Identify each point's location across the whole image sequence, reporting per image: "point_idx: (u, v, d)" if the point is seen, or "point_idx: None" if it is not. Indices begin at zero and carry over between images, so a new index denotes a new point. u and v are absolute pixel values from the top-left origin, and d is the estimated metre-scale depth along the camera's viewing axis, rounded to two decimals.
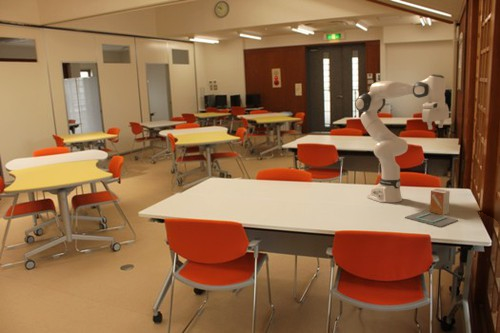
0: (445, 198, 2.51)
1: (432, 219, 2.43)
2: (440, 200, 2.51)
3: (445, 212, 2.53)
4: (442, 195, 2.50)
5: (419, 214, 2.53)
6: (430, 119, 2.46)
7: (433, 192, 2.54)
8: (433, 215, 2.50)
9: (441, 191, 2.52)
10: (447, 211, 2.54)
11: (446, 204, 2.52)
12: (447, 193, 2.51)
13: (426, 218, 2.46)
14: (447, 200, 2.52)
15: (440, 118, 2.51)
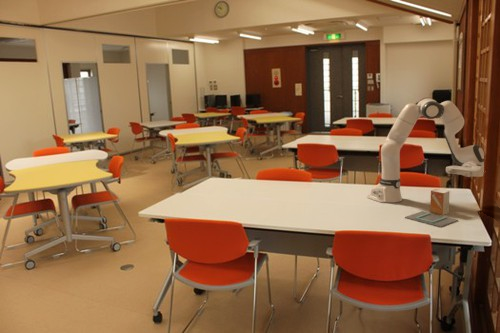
0: (445, 198, 2.51)
1: (432, 219, 2.43)
2: (440, 200, 2.51)
3: (445, 212, 2.53)
4: (442, 195, 2.50)
5: (419, 214, 2.53)
6: None
7: (433, 192, 2.54)
8: (433, 215, 2.50)
9: (441, 191, 2.52)
10: (447, 211, 2.54)
11: (446, 204, 2.52)
12: (447, 193, 2.51)
13: (426, 218, 2.46)
14: (447, 200, 2.52)
15: None
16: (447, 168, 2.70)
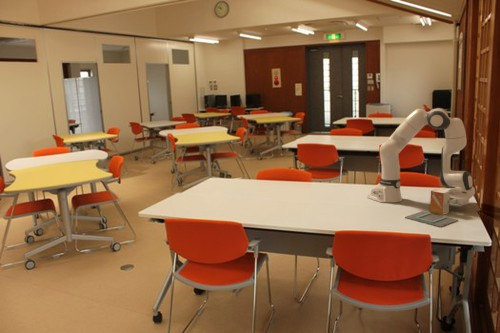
0: (445, 198, 2.51)
1: (432, 219, 2.43)
2: (440, 200, 2.51)
3: (445, 212, 2.53)
4: (442, 195, 2.50)
5: (419, 214, 2.53)
6: None
7: (433, 192, 2.54)
8: (433, 215, 2.50)
9: (441, 191, 2.52)
10: (447, 211, 2.54)
11: (446, 204, 2.52)
12: (447, 193, 2.51)
13: (426, 218, 2.46)
14: (447, 200, 2.52)
15: None
16: None
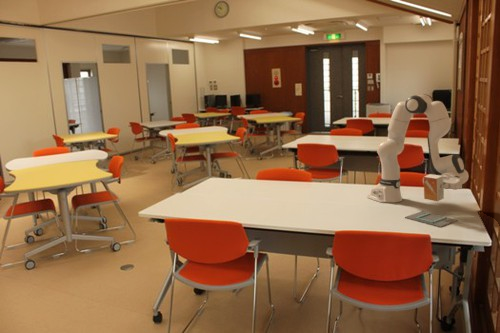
0: (438, 183, 2.39)
1: (432, 219, 2.43)
2: (433, 186, 2.40)
3: (440, 198, 2.42)
4: (435, 181, 2.39)
5: (419, 214, 2.53)
6: None
7: (426, 178, 2.43)
8: (433, 215, 2.50)
9: (434, 176, 2.41)
10: (442, 197, 2.43)
11: (440, 190, 2.41)
12: (440, 178, 2.40)
13: (426, 218, 2.46)
14: None
15: None
16: None
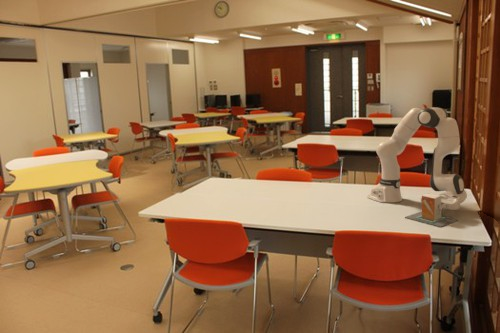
0: (436, 203, 2.39)
1: None
2: (431, 205, 2.40)
3: (437, 218, 2.42)
4: (433, 200, 2.38)
5: (419, 214, 2.53)
6: None
7: (424, 197, 2.43)
8: None
9: (432, 196, 2.41)
10: (439, 217, 2.43)
11: (438, 210, 2.41)
12: (438, 198, 2.40)
13: None
14: None
15: None
16: None
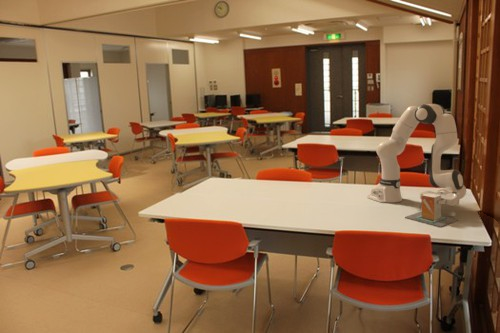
0: (436, 202, 2.40)
1: None
2: (431, 205, 2.41)
3: (437, 218, 2.42)
4: (433, 199, 2.39)
5: (419, 214, 2.53)
6: None
7: (424, 197, 2.43)
8: None
9: (432, 195, 2.42)
10: (439, 216, 2.43)
11: (438, 209, 2.41)
12: (438, 197, 2.40)
13: None
14: (438, 205, 2.41)
15: None
16: (421, 194, 2.52)
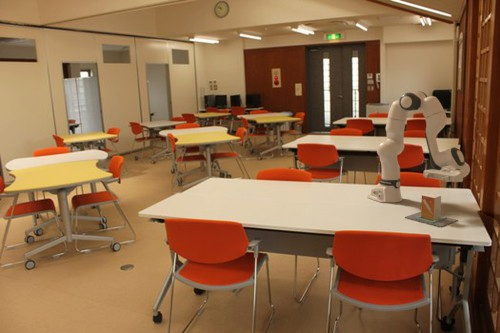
0: (436, 203, 2.40)
1: None
2: (430, 205, 2.41)
3: (436, 218, 2.42)
4: (433, 200, 2.39)
5: (419, 214, 2.53)
6: None
7: (424, 197, 2.43)
8: None
9: (432, 196, 2.42)
10: (438, 217, 2.43)
11: (437, 210, 2.42)
12: (438, 198, 2.41)
13: None
14: (438, 205, 2.42)
15: None
16: (425, 172, 2.51)
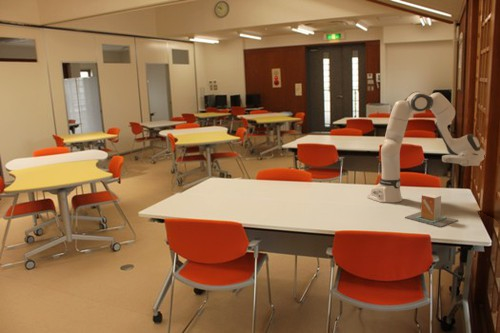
0: (436, 203, 2.40)
1: None
2: (430, 205, 2.41)
3: (436, 218, 2.42)
4: (433, 200, 2.39)
5: (419, 214, 2.53)
6: None
7: (424, 197, 2.43)
8: None
9: (432, 196, 2.42)
10: (438, 217, 2.43)
11: (437, 210, 2.42)
12: (438, 198, 2.41)
13: None
14: (438, 205, 2.42)
15: None
16: (443, 157, 2.66)
